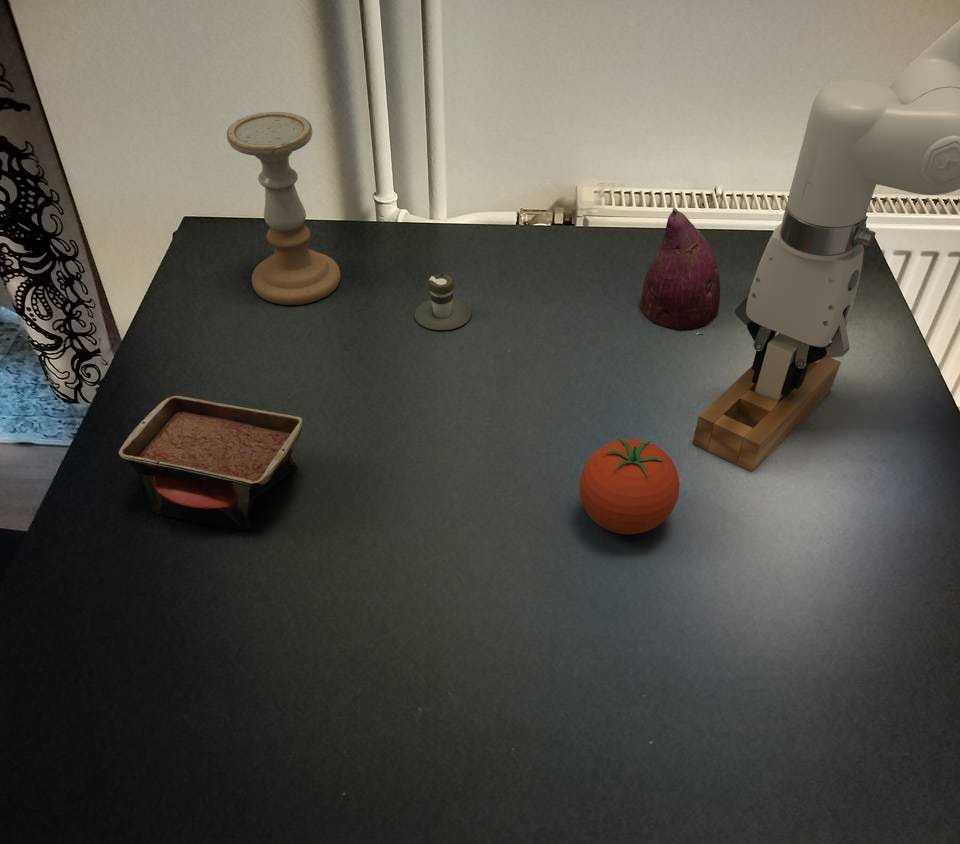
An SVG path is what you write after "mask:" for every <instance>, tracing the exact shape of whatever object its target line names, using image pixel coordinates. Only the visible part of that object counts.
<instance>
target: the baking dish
mask: <svg viewBox="0 0 960 844" xmlns="http://www.w3.org/2000/svg"><path fill="white" fill-rule="evenodd" d="M303 420H304V419H303V417H302V416H299V415H290V414H284V413H280V412H275V411H268V410H262V409H258V408H249V407H243V406H238V405H231V404H226V403H221V402H215V401H214V402H213V401H210V400H205V399H197V398H193V397H189V396H188V397H187V396H183V395H173V396H170V397H166V399H164V400H162V401H160V402H159V403H158V404H156V406H155V407H154V408H151V409H150V411H149V412H148V413H147V415H146V416H144V418H143V419H142V420H141V421H140V422H139V423H138V424H137V425H136V426H135V427H134V428H133V430H132V431H131V432H129V433H128V436H127V437H126V439H125V440H124V442H123V444H122V445H121V447H120V448H119V449H118V455H119V457H120V458H121V459H122V460H124V461H126V462H127V463H128V464H129V465H130V466H131V467H132V468H133V470H134V471H135V473H136V474H137V475H138V476H139V478H140V479H141V481H142V483H143V485H144V488H145V491H146V494H147V497H148V500H149V504H150V506H151V512H153V513H155V514H157V515H159V516H160V515H161V516H165V517H169V518H173V519H178V520H183V521H188V522H194V523H200V524H206V525H211V526H217V527H222V528H223V527H224V528H233V529H239V530H249V528H250V524H251V517H252V508H253V501H254V499H256V498H258V497H259V496H260V495H262V494H263V493H265V492H266V491H267V490H268V489H270V488H271V487H273V486H274V485H276V484H277V483H278V482H280V481H281V480H283V479H284V478H286V477H287V476H288V475H290V473H291V472H293V471H294V470H295V469H296V468H297V467H298V464H297V463H296V462H295V461H293V459H292V454H293V452H294V450H295V449H296V446H297V444H298V441H299V439H300V436H301V433H302V431H303V423H304V421H303Z"/></svg>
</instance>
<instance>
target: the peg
mask: <svg viewBox="0 0 960 844" xmlns="http://www.w3.org/2000/svg"><path fill="white" fill-rule="evenodd" d="M798 344H799V340H796V339H793V338H791V337H788V336H786V335H783V334H781V333H777V334H776V336H775V337H774V338H773V339H772V340H771V341H770V342H769V343H768V346H767V350H766V353H765V357H764V360H763V364H762V368H761V371H760V375H759V379H758V382H757V386H756V390H755V392H756V393H758V394H760V395H762V396H765V397H767V398H769V399H771V400H774V401H776V402H778V403H779V402H780V401H781V400H782V399H783V398H784V397H785V396H783V395H782V393H781V391H782V388H783V384H784V381H785V378H786V375H787V371H788V368H789V366H790V365H791V364H792V363H793V362H794V360H795V358H796V354H797V349H798Z"/></svg>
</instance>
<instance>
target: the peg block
mask: <svg viewBox="0 0 960 844" xmlns="http://www.w3.org/2000/svg"><path fill="white" fill-rule="evenodd" d="M841 363H842V362H841V360H837V359H836V358H834V357H833V358H828V357H827V358H823V359H821V360H818V361H816V362H813V363H811V364H809V366H808V369H807V372H806V375H805V378H804V381H803V383H802V385H801V386H800V387H799V388H798V389H796V388H794V389H793V390H792V391H791V392H790V393H789V394H788V395H787V396H786V397H784V398H783V399H782V400H781V401H780V402H779V403H778V402H776V401H774V400H771V399H769V398H767V397H765V396H762V395H760V394H758V393H756V392H755V390H756V386H757V384H755V383H753V382H752V378H753V374H754V371H753V370H752V365H751V366H750V367H749V368H748V369H747V370H746V371H745V372H743V374H742V375H741V376H739V378H738V379H736V380H735V381H734V382H733V383H732V384H731V385H730V386H729V387H727V389H726V390H724V392H723V393H721V394H720V395H719V396H718V397H717V398H716V399H715V400H714V401H713V402H712V403H711V404H710V405H709V406H707V408H705V409H704V410H703V411H701V413H700V414H699V415H698V417H697V421H696V426H695V430H694V435H693V438H692V439H693V440H692V445H695V446H697V447H699V448H700V449H703V450H705V451H708V452H709V453H711V454H713V455H715V456H717V457H719V458H722V459H724V460H726V461H728V462H729V463H732V464H734V465H736V466H738V467H740V468H743V469H744V470H746V471H749V472H750V473H752V472H754V471H755V470H756V469H757V467H759V465H760V464H762V462H764V460H765V459H766V458H768V456H769V455H770V454H771V453H772V452H773V451H774V450H775V449H776V448H777V447H778V446H779V445H780V443H781V442H782V441H784V439H785V438H786V437H788V435H789V434H791V432H792V431H793V430H794V429H795V428H796V427H797V426H798V425H799V424H800V422H802V421H803V420H804V418H806V416H808V414H809V413H810V412H811V411H812V410H813V409H814V408H815V407H816V406H817V405H818V404H819V403H820V402H821V401H822V399H824V398H825V396H827V394H828V393H830V391H831V390H832V389H833V386H834V382H835V380H836V377H837V374H838V372H839V368H840V367H841Z"/></svg>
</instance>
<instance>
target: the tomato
mask: <svg viewBox="0 0 960 844" xmlns="http://www.w3.org/2000/svg"><path fill="white" fill-rule="evenodd" d="M579 478H580V479H579V482H578V483H579V497H580V500H581V503H582V506H583V508H584V510H585V511H586V513H587V515H588V516H589V518H591V519H592V520H593V521H594V522H595V523H596V524H597V525H599V526H600V527H602V528H604V529H606V530H608V531H610V532H612V533H615V534H619V535H634V534H642V533H646V532H649V531H651V530H652V529H654V528H656V527H658V526H659V525H660V524H662V523H663V522H665V520H666V519H667V518H668V517H669V516H670V515H671V513H672V512H673V510H674V508H675V506H676V504H677V502H678V499H679V495H680V484H681V483H680V477H679V473H678V470H677V467H676V465H675V464H674V461H673V460H672V458H671V457H670V456H669V454H667V453H666V452H665V451H664V450H663V449H661V448H660V447H658V446H656V445H655V444H653V443H652V441H650V440H649V441H644V440H642V439H632V438H625V439H620V438H617V440H616V441H615V440H614V441H612V442H611V441H610V442H609V443H606V444H604V445H603V446H601V447H599V448H598V449H597V450H596V451H595V452H594V453H593V454H591V456H590V457H589V458H588V460H586V462H585V465H584V466H583V468H582V470H581V475H580V477H579Z"/></svg>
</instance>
